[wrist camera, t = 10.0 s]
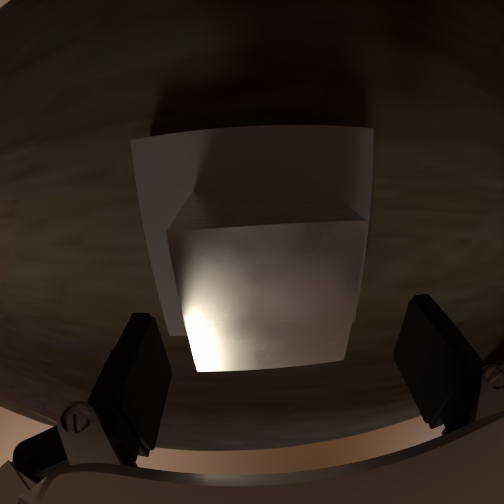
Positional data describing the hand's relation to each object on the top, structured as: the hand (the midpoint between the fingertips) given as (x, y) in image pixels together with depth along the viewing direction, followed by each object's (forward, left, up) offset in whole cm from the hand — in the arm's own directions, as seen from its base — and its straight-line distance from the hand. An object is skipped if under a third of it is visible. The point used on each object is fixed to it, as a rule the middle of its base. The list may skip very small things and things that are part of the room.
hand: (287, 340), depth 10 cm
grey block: (0, +1, -10) cm, 10 cm away
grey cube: (0, 0, -7) cm, 7 cm away
